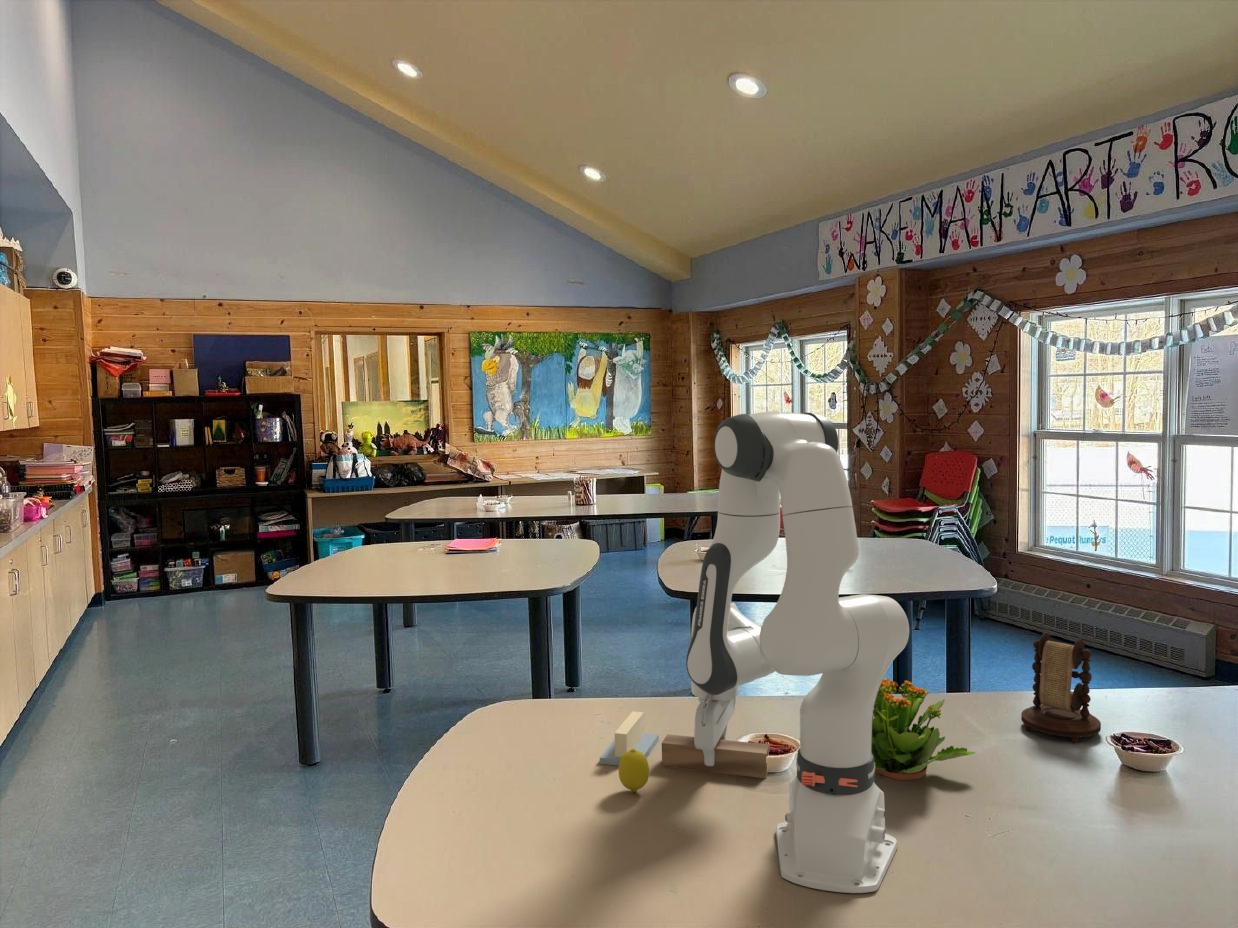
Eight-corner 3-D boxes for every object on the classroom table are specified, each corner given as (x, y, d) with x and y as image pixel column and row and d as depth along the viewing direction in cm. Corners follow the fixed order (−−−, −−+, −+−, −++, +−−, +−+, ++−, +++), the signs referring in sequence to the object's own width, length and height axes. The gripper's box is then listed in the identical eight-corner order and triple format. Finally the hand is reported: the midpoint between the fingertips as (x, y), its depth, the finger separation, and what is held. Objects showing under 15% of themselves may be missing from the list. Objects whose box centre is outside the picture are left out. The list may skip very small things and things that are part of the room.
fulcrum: (639, 767, 172) (638, 737, 172) (600, 763, 175) (599, 733, 174) (658, 740, 185) (658, 711, 185) (621, 736, 188) (621, 708, 187)
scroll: (1008, 730, 186) (1010, 636, 185) (1039, 712, 196) (1040, 622, 195) (1083, 750, 176) (1085, 650, 174) (1111, 730, 185) (1114, 635, 184)
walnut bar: (766, 779, 166) (766, 753, 166) (662, 767, 173) (661, 742, 172) (769, 769, 171) (769, 744, 170) (667, 758, 177) (667, 734, 176)
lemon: (613, 795, 161) (612, 751, 160) (627, 782, 166) (626, 740, 165) (641, 801, 158) (640, 757, 158) (654, 788, 163) (653, 745, 163)
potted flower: (977, 757, 173) (978, 669, 172) (969, 811, 152) (970, 710, 150) (846, 738, 184) (846, 655, 182) (821, 786, 162) (821, 692, 161)
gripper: (719, 704, 160) (720, 779, 161) (741, 668, 179) (741, 735, 180) (685, 701, 162) (686, 774, 163) (710, 665, 181) (710, 732, 182)
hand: (715, 753), depth 172 cm, fingers open, 8 cm apart
